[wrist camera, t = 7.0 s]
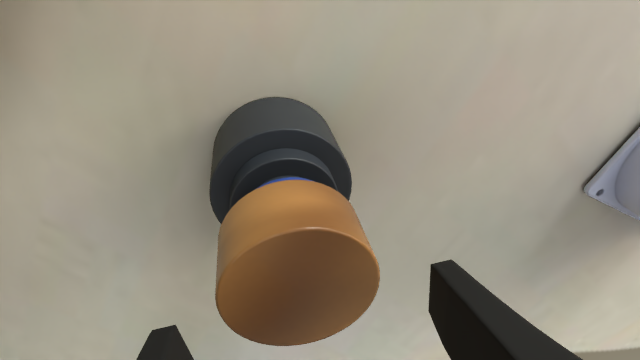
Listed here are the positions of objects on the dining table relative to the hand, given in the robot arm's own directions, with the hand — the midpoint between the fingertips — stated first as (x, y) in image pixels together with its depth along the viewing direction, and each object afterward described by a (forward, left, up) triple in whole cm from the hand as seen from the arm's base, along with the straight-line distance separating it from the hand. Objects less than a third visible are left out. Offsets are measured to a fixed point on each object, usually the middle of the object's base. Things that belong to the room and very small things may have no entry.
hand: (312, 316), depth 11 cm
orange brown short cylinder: (0, 0, -3) cm, 4 cm away
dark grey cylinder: (0, 0, -10) cm, 10 cm away
